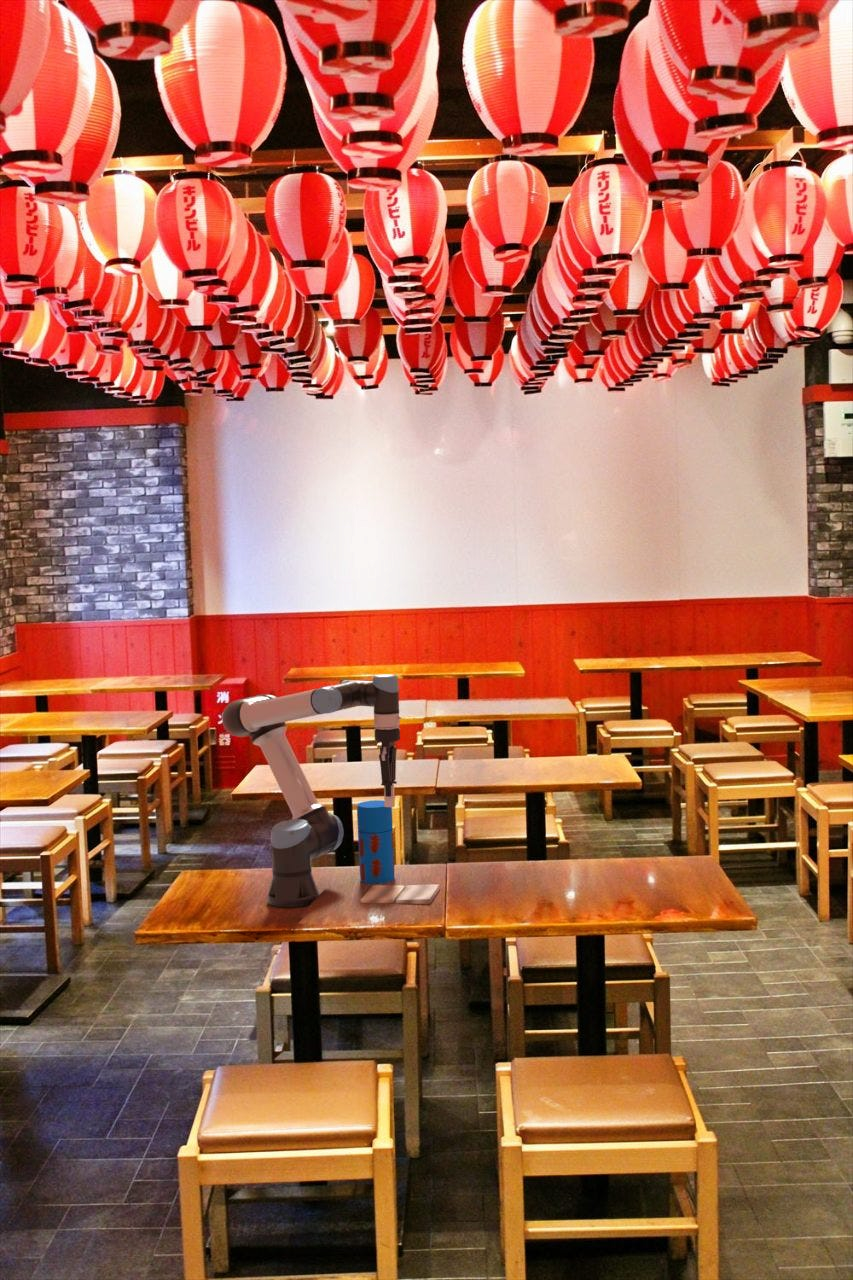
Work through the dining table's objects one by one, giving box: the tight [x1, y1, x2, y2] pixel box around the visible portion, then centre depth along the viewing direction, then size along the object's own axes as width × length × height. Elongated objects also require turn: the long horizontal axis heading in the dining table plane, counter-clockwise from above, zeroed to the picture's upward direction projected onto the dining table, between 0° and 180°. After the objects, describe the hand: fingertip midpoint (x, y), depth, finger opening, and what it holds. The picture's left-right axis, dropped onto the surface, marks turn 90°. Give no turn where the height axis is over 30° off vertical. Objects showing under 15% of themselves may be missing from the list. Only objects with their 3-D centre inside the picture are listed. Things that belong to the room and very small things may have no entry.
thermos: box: [356, 799, 395, 885], centre depth 371 cm, size 11×11×25 cm
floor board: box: [360, 884, 406, 904], centre depth 353 cm, size 21×16×2 cm
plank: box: [395, 883, 441, 905], centre depth 351 cm, size 10×15×2 cm, turn 168°
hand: (389, 806), depth 351 cm, fingers closed
